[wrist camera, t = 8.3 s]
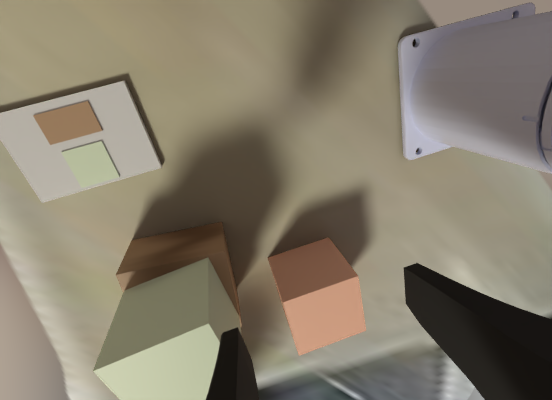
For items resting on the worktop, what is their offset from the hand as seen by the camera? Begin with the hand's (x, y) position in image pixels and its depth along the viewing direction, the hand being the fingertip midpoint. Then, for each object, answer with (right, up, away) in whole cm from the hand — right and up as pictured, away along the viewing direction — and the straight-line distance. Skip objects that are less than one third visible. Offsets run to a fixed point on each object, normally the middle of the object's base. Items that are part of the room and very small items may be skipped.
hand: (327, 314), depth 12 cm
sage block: (-8, -2, +6) cm, 10 cm away
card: (-13, +8, +5) cm, 16 cm away
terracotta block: (0, -1, +12) cm, 12 cm away
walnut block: (-8, 0, +9) cm, 13 cm away
